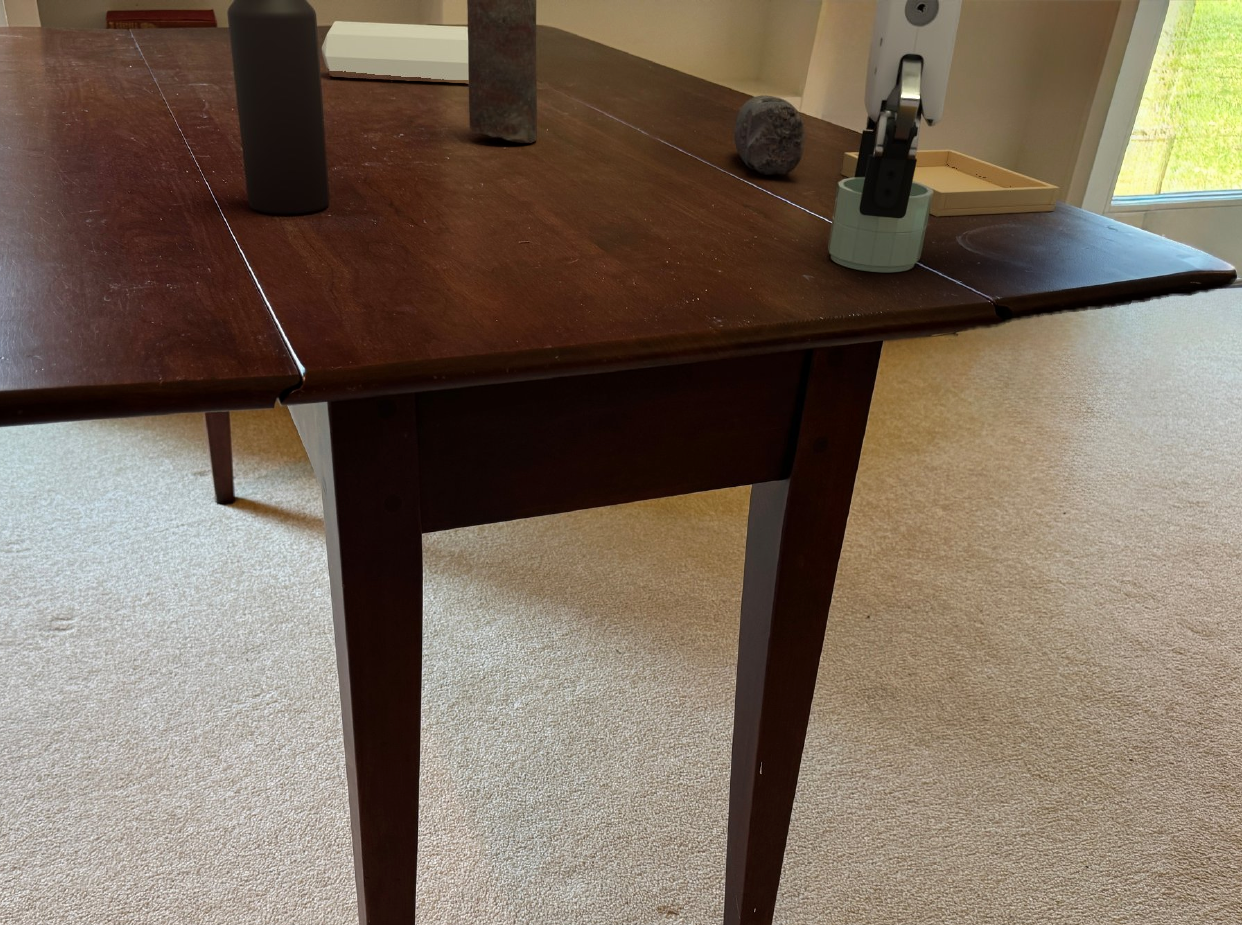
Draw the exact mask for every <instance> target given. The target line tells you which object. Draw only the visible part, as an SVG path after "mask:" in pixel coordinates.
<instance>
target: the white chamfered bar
mask: <svg viewBox="0 0 1242 925" xmlns="http://www.w3.org/2000/svg"><path fill="white" fill-rule="evenodd" d="M321 54H322V58H323V61H324V65H325V67H327V68H328V69H329V71H343V72H344V71H346V72H356V73H367V74H375V75H391V76H401V77H421V78H431V79H441V80H442V79H444V80H469V76H468V26H455V25H435V24H434V25H433V24H432V25H431V24H412V23H409V24H407V23H386V22H368V21H367V22H366V21H365V22H363V21H344V20H343V21H342V20H341V21H339V20H335V21H334V22H333V23H332V26H331V27H330V28H329V30H328V32H327V33H326V36H325V38H324V41H323V43H322V46H321ZM327 68H326V69H327Z"/></svg>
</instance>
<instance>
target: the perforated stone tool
mask: <svg viewBox="0 0 1242 925" xmlns="http://www.w3.org/2000/svg"><path fill="white" fill-rule="evenodd" d="M733 134H734V136H733V137H734V138H733V139H734V144H735V148H736V151H737V153H738V156H740V158H741V160H742V161H743V162H744V164H745V165H746V167H748V168H749V169H751V170H753V171H755V170H756V171H757V172H758V173H760V174H761V175H762V174H763V175H769V176H772V175H787V174H789V173H790V172H793V171H794V170H795V169H796V168H797V167H798V165H799V164H800V162H801V160H802V158H803V154H804V149H805V142H806V138H805V137H806V131H805V123H804V120H803V118H802V115H801V114H800V112H799V111H798V109H797V108H796V107H795V106H794V105H793V104H791V103H790V102H789V101H788V100H785V99H783V98H780V97H776V96H772V95H766V94H765V95H757V96H754V97H751V98H750V99H748V100H747V101H745V103H743V105H742V106H741V108H740V109H739V111H738V114H737V116H736V120H735V123H734V130H733Z"/></svg>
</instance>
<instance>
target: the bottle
mask: <svg viewBox="0 0 1242 925" xmlns="http://www.w3.org/2000/svg"><path fill="white" fill-rule="evenodd" d="M316 12H317V11H316V10H315V9H314V7H313V6H312V5H311V3H310V2H309V1H308V0H233V1H232V2H231V4H230V5H229V7H228V9H227V22H228V23H227V24H228V30H229V31H228V32H229V40H230V51H231V61H232V69H233V77H234V87H235V95H236V96H235V97H236V106H237V116H238V123H239V132H240V142H241V150H242V159H243V160H242V161H243V170H244V178H245V186H246V187H245V188H246V196H247V202H248V205H249V207H250V208H251V209H252V210H254V211H255V212H259V213H263V214H268V215H276V216H295V215H305V214H311V213H315V212H316V213H317V212H319V211H322V210H324V209H326V208H327V207H328V206H329V204H330V202H331V201H330V200H331V199H330V198H331V197H330V188H329V187H330V186H329V185H330V184H329V173H328V172H329V171H328V159H327V156H328V155H327V144H326V133H325V132H326V131H325V117H324V105H323V89H322V88H323V87H322V76H321V64H320V63H321V62H320V48H319V34H318V22H317V21H318V20H317V13H316Z"/></svg>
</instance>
